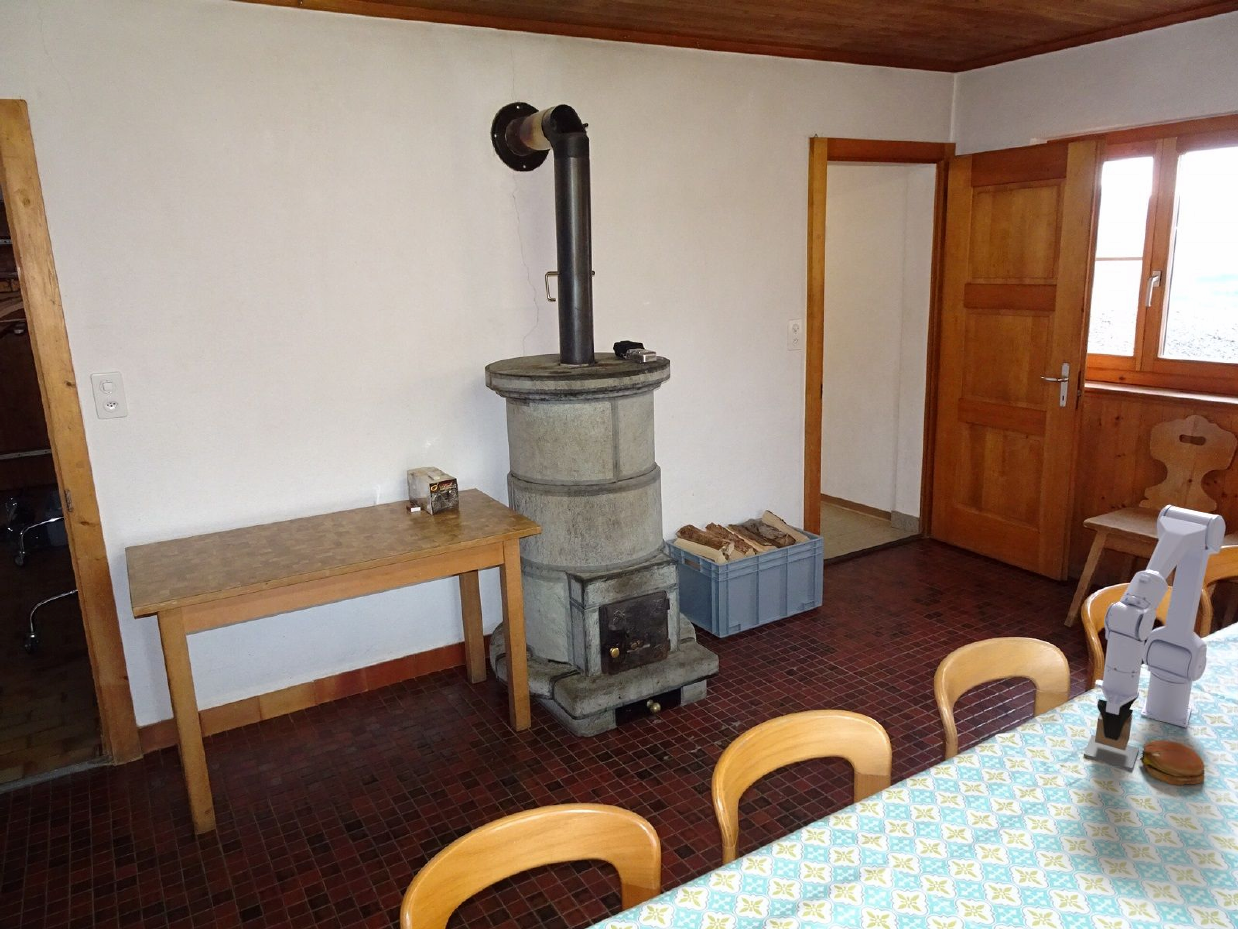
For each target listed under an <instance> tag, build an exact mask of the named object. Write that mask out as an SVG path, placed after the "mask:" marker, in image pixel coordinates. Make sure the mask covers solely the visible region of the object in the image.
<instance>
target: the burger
mask: <svg viewBox="0 0 1238 929" xmlns="http://www.w3.org/2000/svg"><path fill="white" fill-rule="evenodd" d="M1142 748H1143V749H1142V753H1141V755H1142V757H1139V760H1140V761H1141V763H1142V764H1143V767H1145V768H1146V772H1147V773H1148V774H1149V775H1150V776H1151V777H1152V778H1154V779H1156V780H1158V781H1160V782H1164V783H1166V784H1169V785H1175V786H1184V785H1196V784H1197V785H1198V784H1199V783H1203V782H1204V780H1205V774H1206V773H1205V770H1204V769H1205V762H1204V760H1203V759H1202V757H1201V756H1200V755H1199V754H1198V753H1197V752H1196V751H1195V750H1193V748H1191V747H1189V746H1188V745H1185V744H1184V743H1180V742H1178V741H1173V740H1172V741H1171V740H1164V739H1163V740H1162V739H1161V740H1160V739H1159V740H1151V741H1148V742H1146V743H1145V744H1144V745H1143V747H1142Z"/></svg>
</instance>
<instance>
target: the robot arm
mask: <svg viewBox="0 0 1238 929" xmlns="http://www.w3.org/2000/svg"><path fill="white" fill-rule="evenodd" d="M1156 530H1157V531H1156V532H1157V533H1156V535H1157V540H1158V542H1157V544H1156V546H1155V548H1154V551H1153V553H1152V554H1151V557H1150V560H1149V562H1148V563H1147V566H1146V569H1145V570H1140V571H1137V572H1136V573H1135V574H1134V576H1133V578H1132V579H1131V581H1130V583H1129V584H1128V586H1127V588H1126V589H1125V591H1124V593H1123V594H1122V596H1121V598H1120V599H1119V601H1117V602H1112V603H1110V605H1109V606H1108V608H1107V610H1106V613H1105V615H1104V620H1103V626H1104V629H1105V640H1107V645H1106V653H1105V660H1104V670H1103V677H1102V680H1101V679H1096V680H1095V683H1094V687H1096V688H1099V689H1100V690H1101V691H1102V693H1103V696H1104V699H1105V700H1104V699H1100V698H1099V699H1098V701H1097V703H1096V704H1097V705H1096V706H1097V709H1098V711H1099V714H1101V716H1102V720H1103V728H1104V735H1105V737H1106V738H1109V739H1113V740H1116V741H1117V740H1118V738H1119V736H1120V734H1121V731H1122V728H1123V725H1124V723H1125V722H1126V720H1127V719H1128V718H1129V717H1130V716H1131V715H1133V711H1134V709H1131V707H1132V705H1133V704H1134V703H1135V701H1136V700H1137V699H1138V698H1139V696H1140V692H1139V684H1140V679H1141V678H1140V677H1141V670H1142V662H1143V663H1144V665H1145V666H1147V671H1148V672H1150V674H1149V680H1148V687H1147V689H1148V690H1147V694H1146V698H1145V700H1144V704H1143V706H1142V710H1141V712H1140V716H1142V717H1145V718H1148V719H1153V720H1156V721H1160V722H1163V723H1168V724H1171V725H1174V726H1179V727H1182V728H1187V727H1188V724H1189V720H1190V717H1191V712H1192V705H1190V699H1191V693H1192V692H1191V691H1192V687H1193V682H1196V681H1198V680H1200V679H1201V678H1202V677H1203V674H1204V673H1205V670H1206V667H1207V662H1208V661H1207V659H1208V658H1207V650H1208V648H1207V645H1208V644H1207V643H1206V642H1205V641H1204V640H1203V639H1202V638H1201V637H1200V636H1199V635H1198V634H1197V633H1196V632H1195V631H1194V628H1195V626H1196V625H1195V624H1196V619H1197V614H1198V609H1199V603H1200V599H1201V594H1202V590H1203V585H1204V581H1205V577H1206V576H1205V575H1206V570H1207V567H1208V563H1209V559H1210V557H1211V555H1216V554H1217V555H1218V554H1220V552H1221V551H1220V550H1221V549H1222V548H1223V542H1224V536H1225V532H1226V523H1225V520H1224V518H1223V516H1222V515H1221V514H1220V515H1219V514H1211V513H1207V512H1201V511H1197V510H1192V509H1187V508H1183V507H1179V506H1174V505H1172V504H1168V505H1165V507H1163V508H1162V509H1161V510H1160V512H1159V514H1158V517H1157V521H1156ZM1175 568H1176V570H1175V573H1174V577H1173V579H1174V580H1173V584H1172V588H1171V593H1170V597H1169V598H1170V599H1169V602H1168V608H1167V612H1166V613H1167V614H1166V619H1165V623H1164V625H1163V626H1159V627H1156V628H1154V623H1155V620H1156V617H1157V610H1158V607H1159V606H1160V603H1161V602H1162V601H1163V599H1164V598H1165V595H1166V593H1167V592H1168V590H1169V585H1168V582H1167V579H1168V577H1169V576H1170V575H1171V573H1172V572H1173V570H1174V569H1175ZM1153 628H1154V629H1153ZM1145 640H1146V642H1145Z"/></svg>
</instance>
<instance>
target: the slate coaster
mask: <svg viewBox="0 0 1238 929" xmlns="http://www.w3.org/2000/svg"><path fill="white" fill-rule="evenodd" d="M1095 737H1096V734H1095V735H1094V734H1091V736H1090V738H1089V740H1088V742H1087V745H1086V748H1085V750H1084V753H1083V757H1084V758H1087V759H1091V760H1093V761H1096V762H1097V761H1098V762H1100V763H1104V764H1106V765H1111V766H1114V767H1117V768H1120V769H1123V770H1126V771H1130V772H1132V771H1133V769H1134V766H1135V763H1136V760H1137V756H1138V754H1139V750H1140V749H1139V747H1136V746H1133V745H1129V744H1127V747H1126V749H1125V751H1124V750H1121V749H1117V748H1114V747H1110V746H1107V745H1103V744H1100V743H1096V742H1095Z"/></svg>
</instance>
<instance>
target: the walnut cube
mask: <svg viewBox="0 0 1238 929" xmlns="http://www.w3.org/2000/svg"><path fill="white" fill-rule="evenodd" d="M1132 721H1133V714H1131V716H1130V717H1129V718H1128V719H1127V720H1126V722H1125V723H1124V725H1123V728H1122V731H1121V734H1120V736H1119V738H1118V740H1117V741H1116V740H1113V739H1109V738H1106V737H1105V735H1104V728H1103V720H1102V716H1101V714H1100V713H1099V715H1098V717H1097V722H1096V731H1095V736H1096V737H1095V742H1096V743H1100V744H1103V745H1107V746H1110V747H1114V748H1117V749H1121V750H1124V751H1125V749H1126V747H1127V745H1129V741H1130V735H1131V728H1132V723H1133V722H1132Z"/></svg>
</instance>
